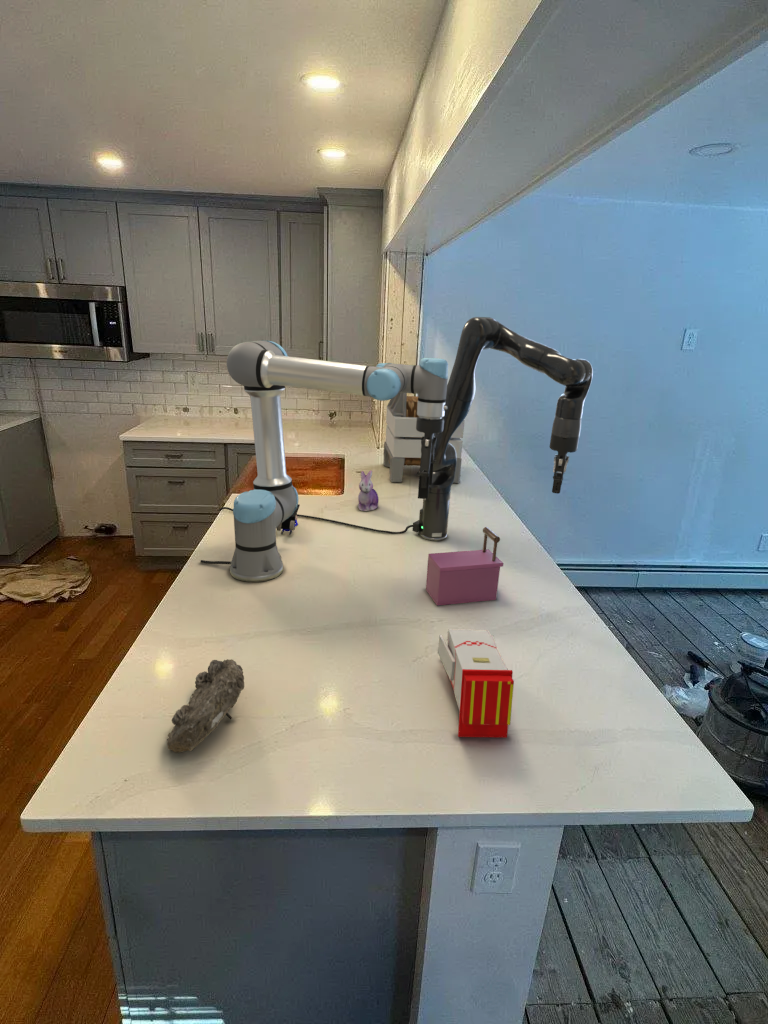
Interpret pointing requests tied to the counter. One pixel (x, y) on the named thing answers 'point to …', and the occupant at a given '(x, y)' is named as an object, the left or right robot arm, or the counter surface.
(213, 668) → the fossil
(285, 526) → the figurine character
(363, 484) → the figurine
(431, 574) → the chest
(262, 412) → the left robot arm
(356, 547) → the counter surface
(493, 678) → the toy
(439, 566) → the lid
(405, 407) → the grey slatted box
